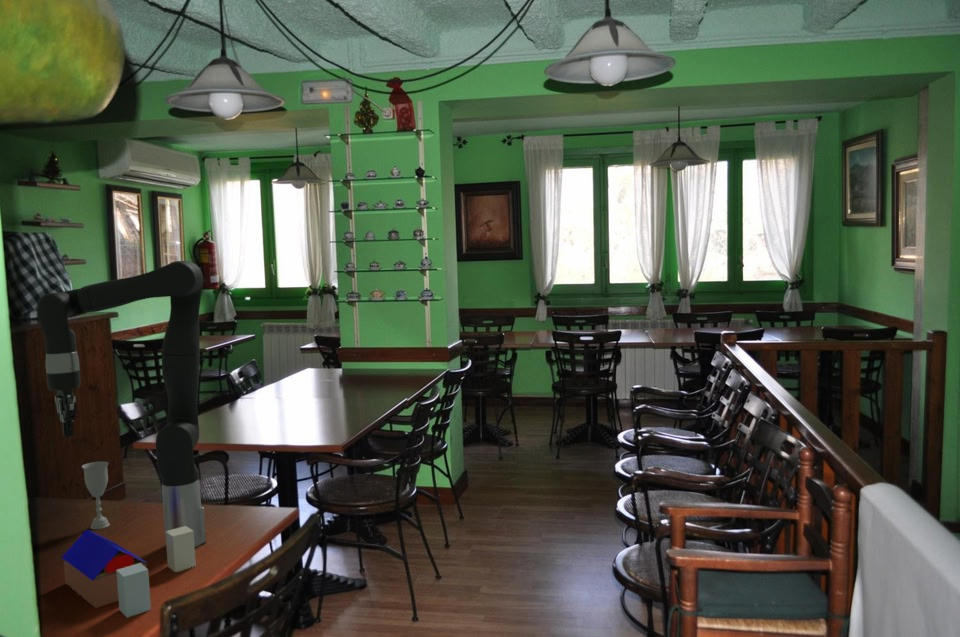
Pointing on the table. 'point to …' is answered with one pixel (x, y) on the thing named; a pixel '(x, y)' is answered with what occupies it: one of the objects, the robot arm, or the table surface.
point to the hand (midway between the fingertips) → (68, 436)
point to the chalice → (97, 488)
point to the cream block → (180, 548)
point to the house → (96, 568)
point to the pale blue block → (133, 590)
